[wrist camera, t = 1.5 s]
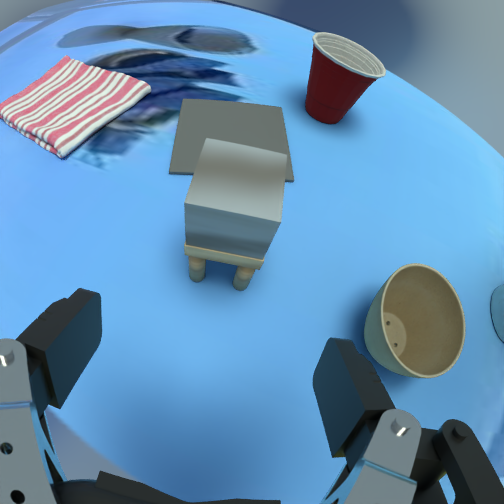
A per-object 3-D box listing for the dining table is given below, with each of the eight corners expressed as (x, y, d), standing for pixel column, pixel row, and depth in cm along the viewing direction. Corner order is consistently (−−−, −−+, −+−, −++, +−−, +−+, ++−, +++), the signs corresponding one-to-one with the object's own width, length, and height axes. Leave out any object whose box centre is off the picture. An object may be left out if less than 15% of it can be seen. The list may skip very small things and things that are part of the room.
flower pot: (415, 293, 30) (456, 268, 24) (421, 381, 26) (469, 371, 20) (339, 286, 29) (376, 255, 23) (341, 387, 25) (384, 382, 18)
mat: (280, 109, 40) (281, 107, 40) (293, 182, 34) (294, 180, 34) (183, 100, 38) (183, 98, 37) (169, 174, 31) (169, 171, 31)
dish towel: (69, 67, 40) (66, 52, 37) (154, 95, 38) (153, 76, 35) (-2, 120, 32) (-9, 106, 29) (66, 166, 30) (58, 147, 27)
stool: (247, 293, 27) (282, 224, 17) (186, 281, 27) (182, 203, 16) (255, 239, 30) (288, 154, 19) (199, 228, 29) (205, 136, 19)
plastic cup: (342, 147, 39) (378, 80, 28) (277, 109, 40) (298, 39, 29) (364, 118, 43) (394, 62, 33) (308, 86, 45) (330, 28, 34)
